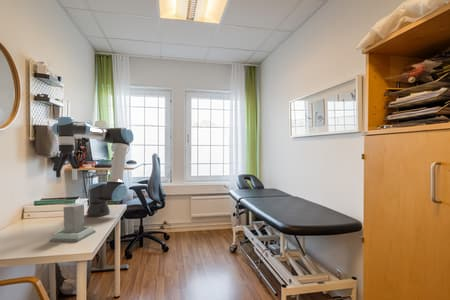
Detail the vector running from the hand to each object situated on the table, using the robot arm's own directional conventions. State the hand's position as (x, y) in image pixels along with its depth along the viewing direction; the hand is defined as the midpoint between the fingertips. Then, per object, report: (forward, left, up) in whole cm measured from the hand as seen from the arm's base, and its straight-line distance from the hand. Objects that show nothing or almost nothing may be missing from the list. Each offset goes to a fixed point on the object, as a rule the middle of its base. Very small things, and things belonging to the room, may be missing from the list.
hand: (67, 181), depth 147 cm
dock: (+7, +8, -29) cm, 31 cm away
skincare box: (+6, +8, -28) cm, 30 cm away
